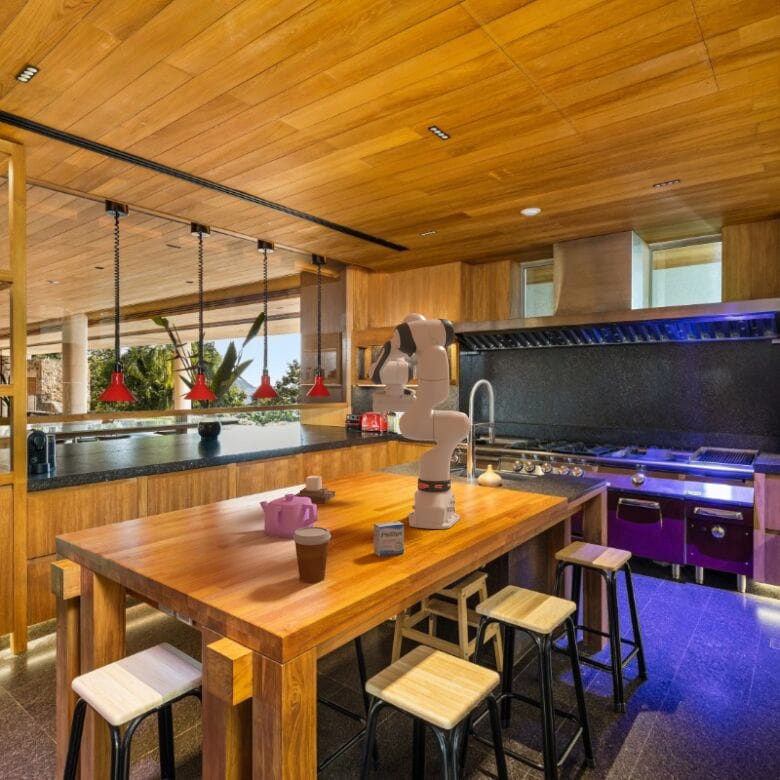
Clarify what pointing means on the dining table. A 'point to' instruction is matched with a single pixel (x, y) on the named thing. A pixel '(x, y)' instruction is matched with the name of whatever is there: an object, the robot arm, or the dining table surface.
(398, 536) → the medicine box
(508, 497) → the dining table surface
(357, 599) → the dining table surface
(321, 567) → the disposable coffee cup
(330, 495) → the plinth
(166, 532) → the dining table surface
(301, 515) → the teakettle
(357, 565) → the dining table surface
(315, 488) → the cream block
